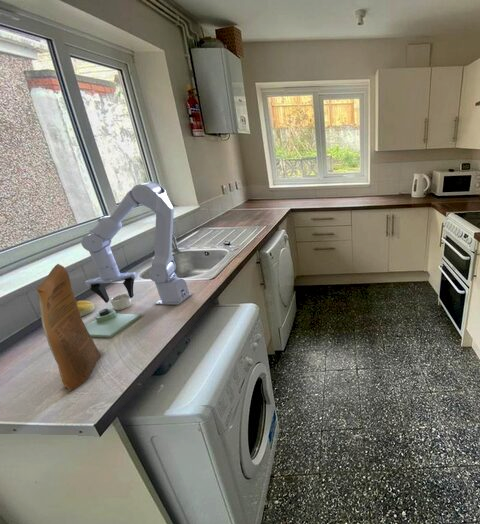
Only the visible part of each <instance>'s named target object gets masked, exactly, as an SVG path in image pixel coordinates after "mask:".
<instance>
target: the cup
mask: <svg viewBox="0 0 480 524" xmlns="http://www.w3.org/2000/svg"><path fill="white" fill-rule="evenodd" d="M131 299H132V298H130V297H129V294H128V293H120V294H117V295H115V296H112V297H111V298H109V302H110V303H111V305H112V309H114V310H115V311H120V310H124V309H127V308H129V307H130V306H131V305H132V304H133V303H132V300H131Z"/></svg>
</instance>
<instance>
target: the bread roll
mask: <svg viewBox="0 0 480 524" xmlns="http://www.w3.org/2000/svg"><path fill="white" fill-rule="evenodd" d="M76 301H77V307H78V310H79V312H80V315H81V318H82V317H84V316H87V315H88V314H90V313H92V312H93V311H94V310H95V304H94V303H93V302H92V301H89V300H76Z"/></svg>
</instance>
